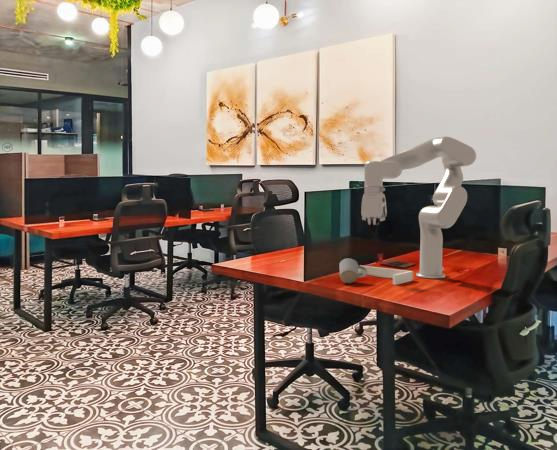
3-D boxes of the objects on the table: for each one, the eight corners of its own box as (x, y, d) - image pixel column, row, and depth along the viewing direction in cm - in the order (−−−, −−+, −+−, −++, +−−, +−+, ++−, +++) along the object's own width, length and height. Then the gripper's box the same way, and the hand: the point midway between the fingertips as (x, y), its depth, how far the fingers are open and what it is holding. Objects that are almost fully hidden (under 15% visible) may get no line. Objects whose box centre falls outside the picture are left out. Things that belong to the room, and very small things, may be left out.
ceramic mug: (344, 286, 208) (336, 273, 205) (343, 274, 215) (336, 260, 212) (368, 279, 205) (361, 265, 201) (367, 266, 212) (360, 252, 208)
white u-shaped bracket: (359, 274, 234) (360, 265, 234) (413, 280, 216) (413, 271, 216) (340, 277, 222) (340, 268, 222) (395, 285, 205) (395, 275, 205)
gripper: (393, 190, 212) (393, 234, 213) (362, 190, 222) (362, 232, 223) (384, 190, 207) (384, 235, 208) (353, 191, 216) (353, 233, 218)
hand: (373, 234), depth 215 cm, fingers closed
